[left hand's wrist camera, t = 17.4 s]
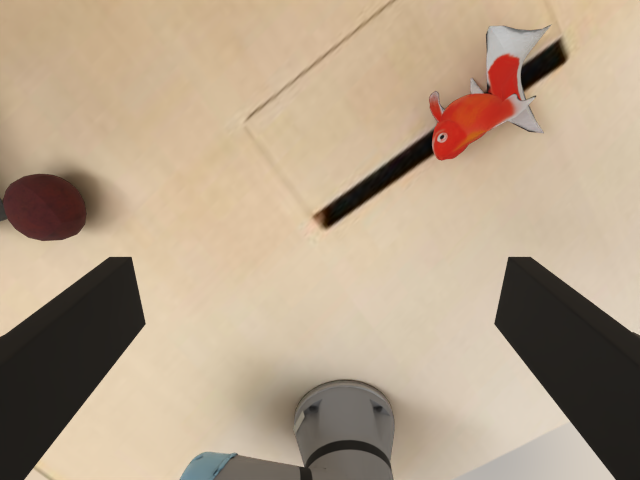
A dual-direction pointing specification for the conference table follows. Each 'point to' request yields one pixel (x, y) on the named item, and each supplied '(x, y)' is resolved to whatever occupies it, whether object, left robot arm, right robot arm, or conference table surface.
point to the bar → (2, 212)
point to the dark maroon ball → (44, 207)
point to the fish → (488, 95)
